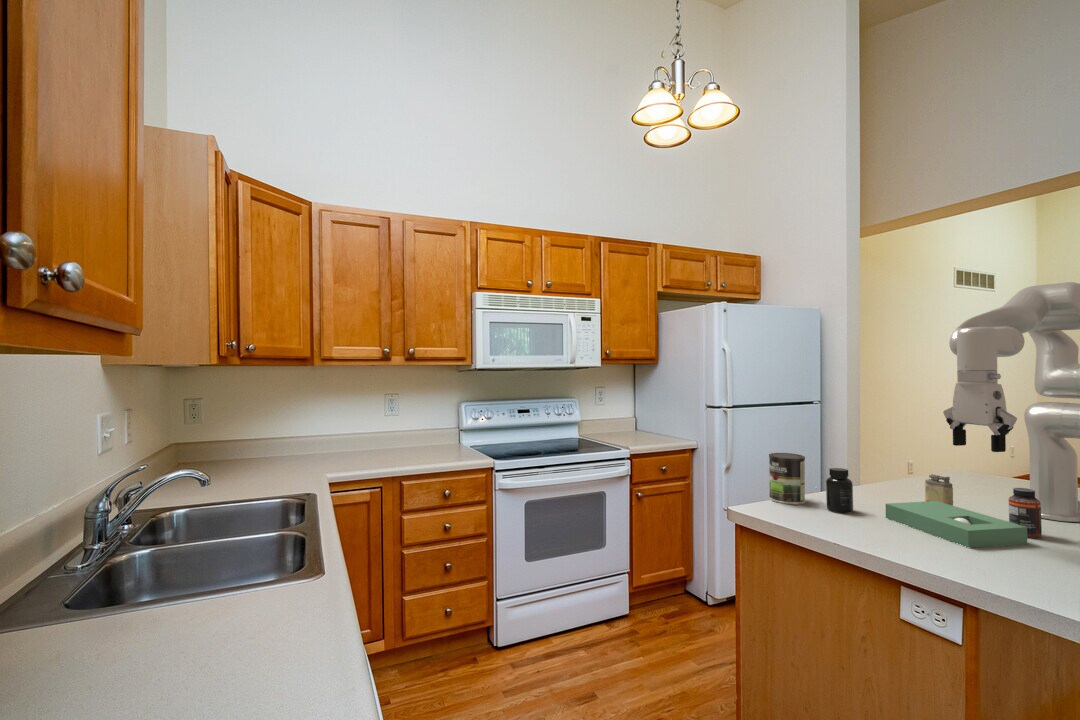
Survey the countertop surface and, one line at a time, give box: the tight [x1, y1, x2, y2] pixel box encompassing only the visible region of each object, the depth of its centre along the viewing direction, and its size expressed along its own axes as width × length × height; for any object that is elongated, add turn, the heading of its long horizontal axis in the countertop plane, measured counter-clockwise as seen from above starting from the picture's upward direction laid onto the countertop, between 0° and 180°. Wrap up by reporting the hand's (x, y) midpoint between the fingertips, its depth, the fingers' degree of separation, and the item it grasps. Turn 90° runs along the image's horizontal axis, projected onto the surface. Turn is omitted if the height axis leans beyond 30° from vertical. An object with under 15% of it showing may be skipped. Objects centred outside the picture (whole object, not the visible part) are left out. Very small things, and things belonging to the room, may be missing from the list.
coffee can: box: [768, 452, 806, 505], centre depth 165 cm, size 10×10×14 cm
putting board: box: [885, 501, 1028, 548], centre depth 134 cm, size 16×24×4 cm, turn 8°
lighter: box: [924, 473, 954, 506], centre depth 153 cm, size 7×4×10 cm, turn 23°
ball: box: [954, 518, 971, 525], centre depth 130 cm, size 4×4×4 cm
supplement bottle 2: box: [1008, 487, 1043, 539], centre depth 130 cm, size 6×6×11 cm
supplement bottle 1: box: [825, 467, 854, 514], centre depth 153 cm, size 7×7×12 cm
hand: (978, 448), depth 127 cm, fingers open, 9 cm apart
